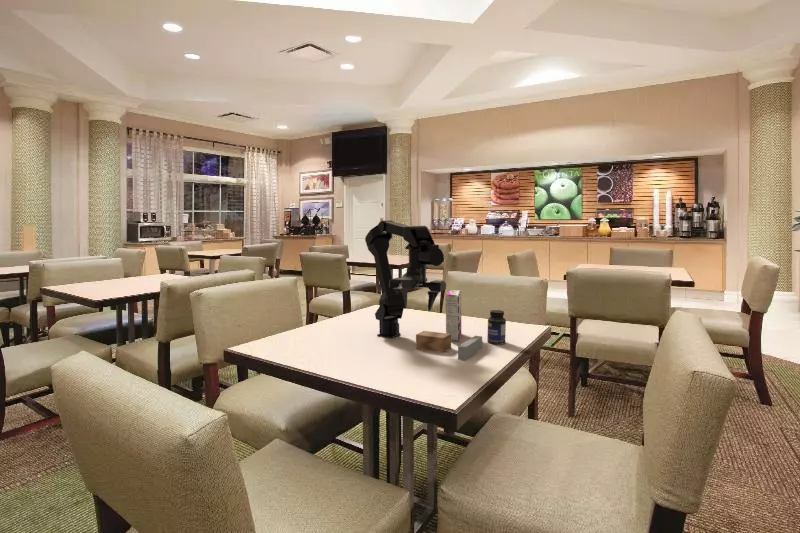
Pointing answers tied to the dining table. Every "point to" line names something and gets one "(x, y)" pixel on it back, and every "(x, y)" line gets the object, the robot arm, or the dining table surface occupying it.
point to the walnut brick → (433, 341)
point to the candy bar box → (453, 314)
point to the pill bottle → (496, 327)
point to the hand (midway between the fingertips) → (417, 309)
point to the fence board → (469, 347)
